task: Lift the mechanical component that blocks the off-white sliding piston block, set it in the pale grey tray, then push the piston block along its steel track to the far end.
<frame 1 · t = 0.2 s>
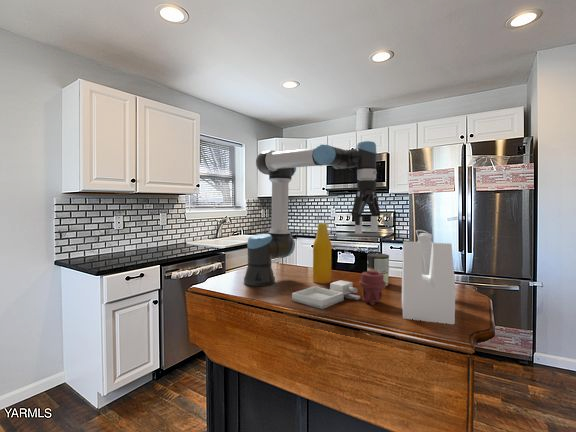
hand: (366, 232, 124), 27 cm above the countertop, tool pointing down, fingers open, 13 cm apart
beer bottle: (321, 281, 152), on the countertop
white notched block: (425, 312, 109), on the countertop
coffee can: (377, 283, 150), on the countertop
tray: (317, 300, 121), on the countertop
piston block: (345, 288, 127), point 3 cm above the countertop, slide at 0.0 cm
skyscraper: (424, 294, 132), on the countertop
track: (346, 296, 127), on the countertop
mechanical component: (372, 302, 119), on the countertop
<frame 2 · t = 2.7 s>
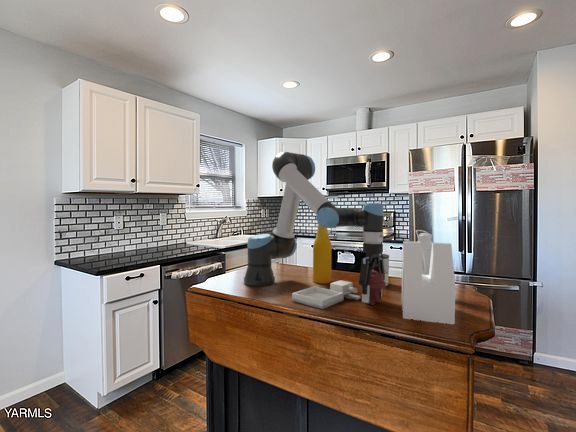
hand: (372, 299, 119), 1 cm above the countertop, tool pointing down, fingers closed on mechanical component, 10 cm apart
mechanical component: (372, 302, 119), on the countertop, touching gripper
everything else where it was.
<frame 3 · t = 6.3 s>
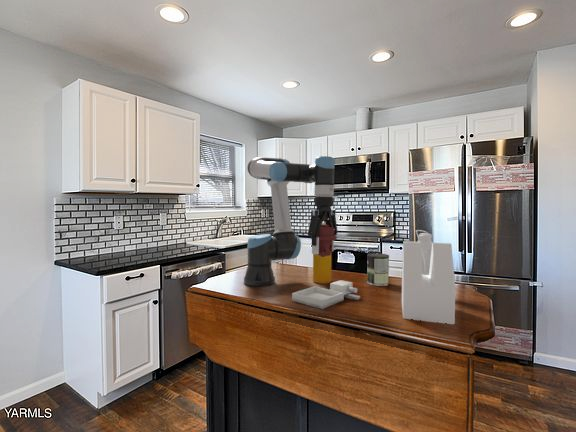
hand: (323, 252, 121), 19 cm above the countertop, tool pointing down, fingers closed on mechanical component, 10 cm apart
mechanical component: (323, 256, 121), point 18 cm above the countertop, touching gripper
everything else where it was.
when the fingers open (4 cm above the countertop, at t = 10.0 s): mechanical component drops 2 cm, point 1 cm above the countertop.
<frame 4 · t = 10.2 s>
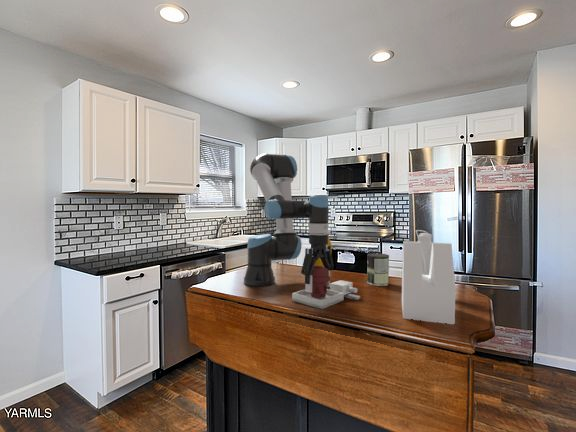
hand: (318, 288, 121), 5 cm above the countertop, tool pointing down, fingers open, 11 cm apart
mechanical component: (317, 297, 121), point 1 cm above the countertop, touching gripper
everything else where it was.
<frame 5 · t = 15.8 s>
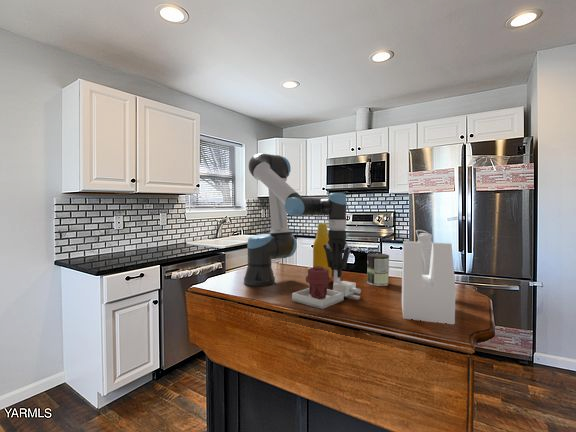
hand: (336, 284, 130), 4 cm above the countertop, tool pointing down, fingers closed
piston block: (348, 289, 126), point 3 cm above the countertop, slide at 1.5 cm, touching gripper
mechanical component: (318, 298, 121), point 1 cm above the countertop, touching tray
everything else where it was.
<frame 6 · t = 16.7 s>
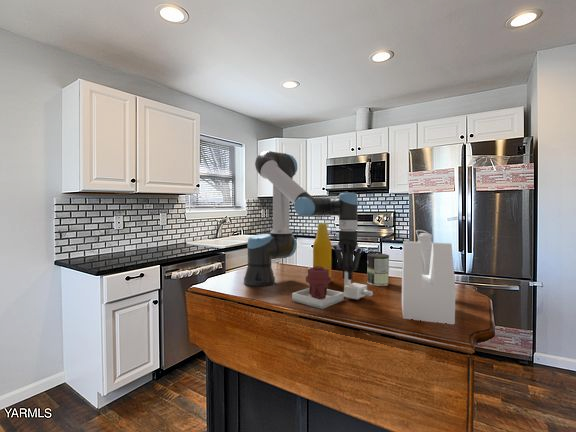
hand: (347, 286, 126), 4 cm above the countertop, tool pointing down, fingers closed
piston block: (360, 291, 123), point 3 cm above the countertop, slide at 6.7 cm, touching gripper
everything else where it was.
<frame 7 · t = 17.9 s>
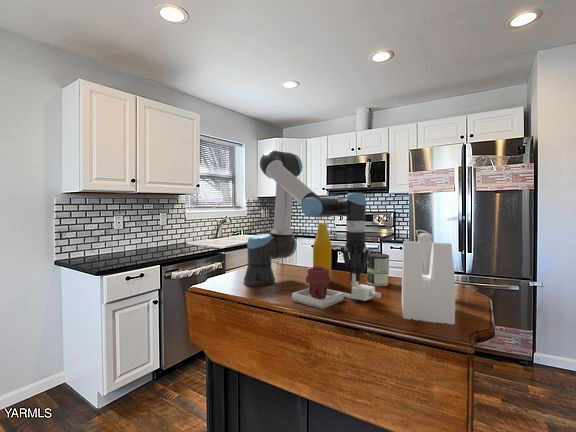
hand: (355, 288, 124), 4 cm above the countertop, tool pointing down, fingers closed
piston block: (367, 293, 120), point 3 cm above the countertop, slide at 10.2 cm, touching gripper
everything else where it was.
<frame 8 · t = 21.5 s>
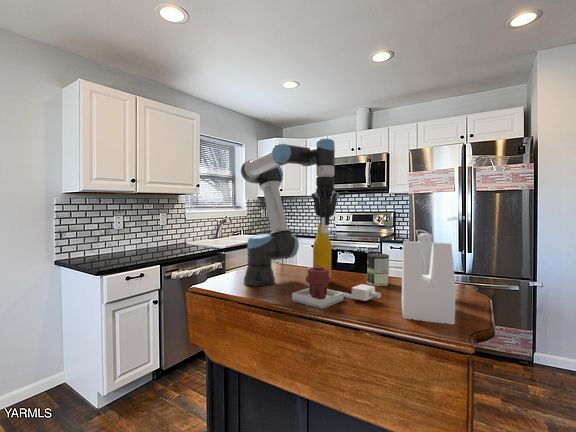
hand: (324, 232, 129), 26 cm above the countertop, tool pointing down, fingers closed
piston block: (367, 293, 120), point 3 cm above the countertop, slide at 10.2 cm
everything else where it was.
at the end: mechanical component inside the target area on the tray (0.1 cm from its centre), point 0.8 cm above the tray's base; mechanical component tilted 0°; piston block slide at 10.2 cm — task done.
